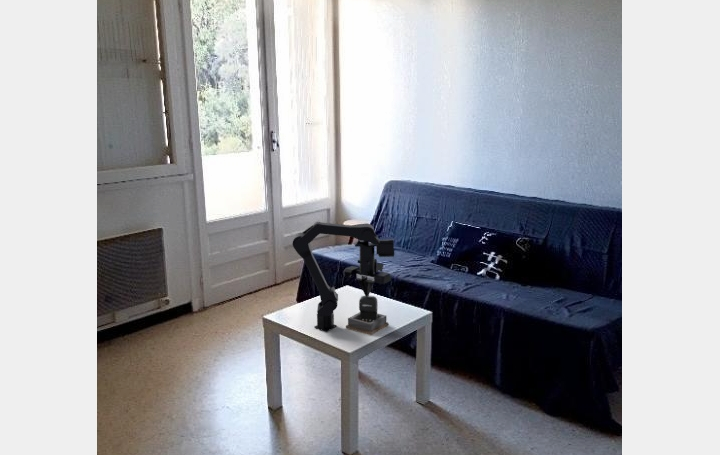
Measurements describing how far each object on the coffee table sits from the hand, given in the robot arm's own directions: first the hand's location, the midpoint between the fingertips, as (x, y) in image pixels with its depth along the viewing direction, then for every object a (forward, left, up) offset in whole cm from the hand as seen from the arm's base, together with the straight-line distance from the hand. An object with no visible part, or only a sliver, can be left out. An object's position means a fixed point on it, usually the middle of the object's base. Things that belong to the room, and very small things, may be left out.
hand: (367, 295), depth 224 cm
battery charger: (0, 0, -12) cm, 12 cm away
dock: (0, 0, -13) cm, 13 cm away
